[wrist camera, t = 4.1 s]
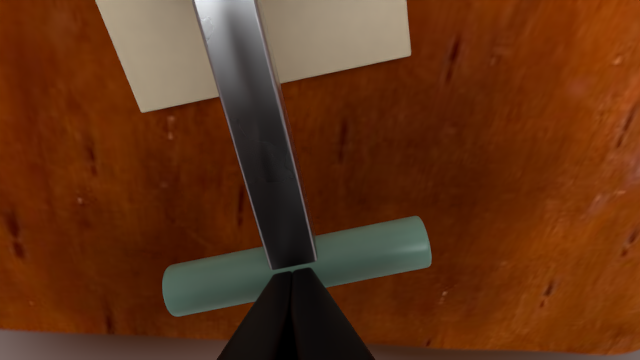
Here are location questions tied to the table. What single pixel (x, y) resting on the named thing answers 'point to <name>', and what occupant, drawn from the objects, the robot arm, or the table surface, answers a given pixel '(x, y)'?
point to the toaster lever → (275, 184)
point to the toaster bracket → (284, 31)
